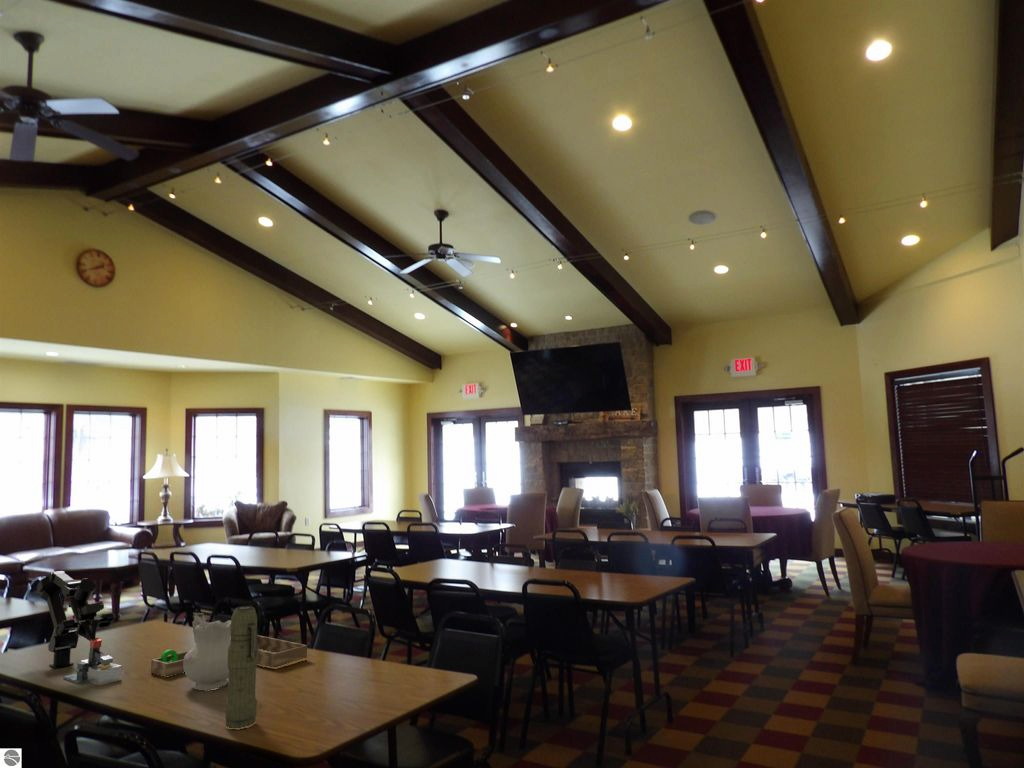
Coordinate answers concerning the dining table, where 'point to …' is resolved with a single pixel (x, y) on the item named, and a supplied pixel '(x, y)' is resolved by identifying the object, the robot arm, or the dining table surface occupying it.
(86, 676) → the press frame
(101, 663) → the pin
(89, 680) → the housing
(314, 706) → the dining table surface
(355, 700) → the dining table surface
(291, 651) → the brown open crate
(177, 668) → the part crate
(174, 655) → the mechanical part
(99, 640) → the lever
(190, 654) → the ceramic pitcher
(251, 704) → the thermos
